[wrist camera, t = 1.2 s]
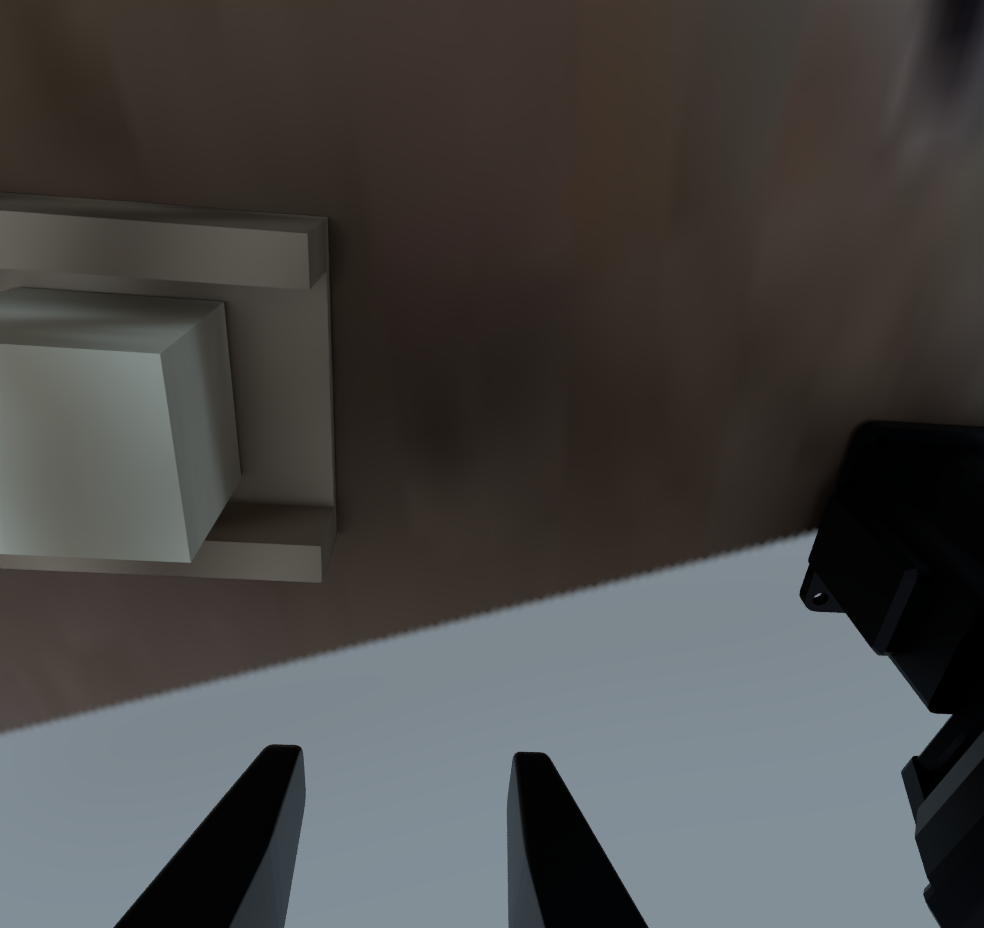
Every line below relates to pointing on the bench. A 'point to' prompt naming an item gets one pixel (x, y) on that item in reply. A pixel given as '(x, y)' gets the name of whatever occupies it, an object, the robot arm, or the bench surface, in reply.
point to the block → (113, 424)
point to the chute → (252, 353)
